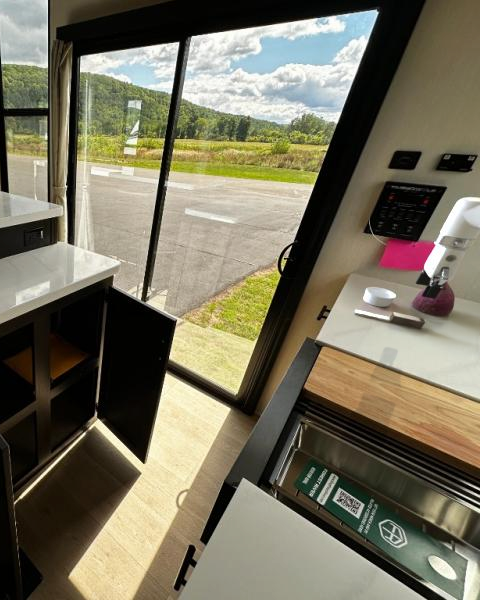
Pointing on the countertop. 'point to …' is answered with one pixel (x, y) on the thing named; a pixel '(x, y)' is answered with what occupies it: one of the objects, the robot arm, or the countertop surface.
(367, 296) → the ramekin
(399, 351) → the countertop surface
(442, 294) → the vegetable
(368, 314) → the knife
